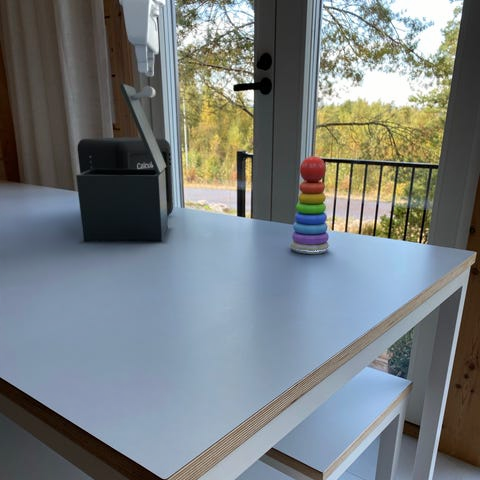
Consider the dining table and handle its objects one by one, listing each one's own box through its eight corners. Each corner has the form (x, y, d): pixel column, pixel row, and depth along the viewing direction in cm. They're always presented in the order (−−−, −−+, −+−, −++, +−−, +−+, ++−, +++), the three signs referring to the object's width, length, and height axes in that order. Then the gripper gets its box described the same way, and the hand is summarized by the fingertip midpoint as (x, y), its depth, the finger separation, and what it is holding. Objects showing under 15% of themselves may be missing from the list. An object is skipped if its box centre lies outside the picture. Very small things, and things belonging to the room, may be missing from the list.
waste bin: (83, 241, 104) (76, 175, 98) (98, 227, 116) (92, 168, 111) (162, 241, 104) (158, 175, 99) (167, 228, 117) (165, 169, 112)
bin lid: (119, 85, 92) (144, 74, 91) (130, 88, 105) (152, 79, 104) (156, 174, 99) (180, 165, 98) (163, 167, 112) (184, 159, 111)
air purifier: (125, 228, 116) (118, 141, 108) (84, 221, 123) (75, 139, 115) (177, 215, 132) (174, 138, 124) (138, 209, 139) (133, 137, 131)
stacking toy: (309, 243, 105) (316, 154, 97) (336, 251, 99) (345, 157, 91) (282, 248, 100) (287, 155, 93) (308, 257, 94) (315, 158, 87)
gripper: (133, 5, 101) (138, 78, 107) (115, -20, 83) (122, 69, 88) (163, 6, 102) (166, 78, 107) (151, -19, 83) (156, 70, 88)
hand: (146, 74), depth 98 cm, fingers open, 8 cm apart
